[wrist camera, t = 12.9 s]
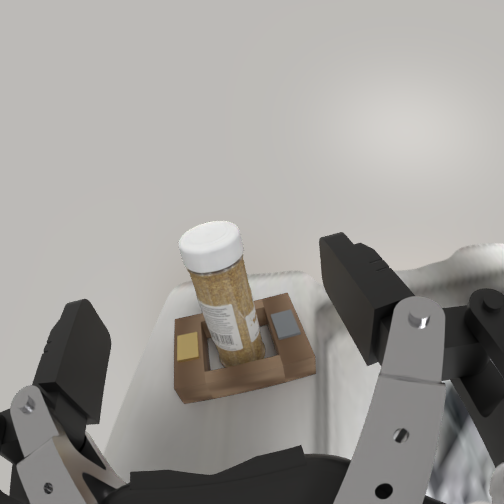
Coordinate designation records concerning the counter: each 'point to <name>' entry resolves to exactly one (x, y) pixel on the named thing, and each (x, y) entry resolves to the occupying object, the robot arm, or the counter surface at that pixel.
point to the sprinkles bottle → (223, 290)
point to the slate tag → (285, 324)
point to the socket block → (248, 374)
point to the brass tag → (187, 347)
